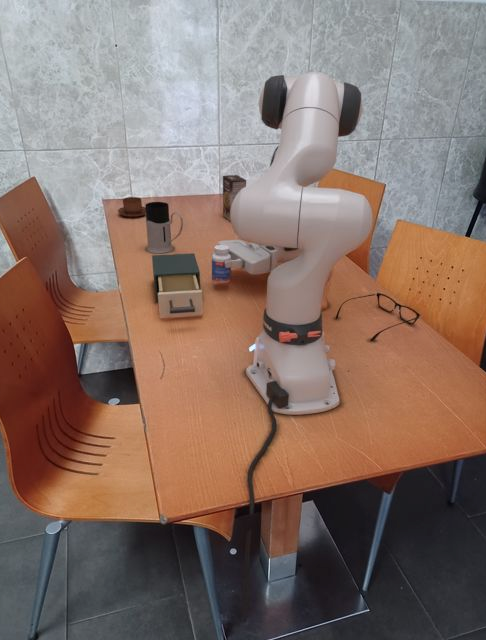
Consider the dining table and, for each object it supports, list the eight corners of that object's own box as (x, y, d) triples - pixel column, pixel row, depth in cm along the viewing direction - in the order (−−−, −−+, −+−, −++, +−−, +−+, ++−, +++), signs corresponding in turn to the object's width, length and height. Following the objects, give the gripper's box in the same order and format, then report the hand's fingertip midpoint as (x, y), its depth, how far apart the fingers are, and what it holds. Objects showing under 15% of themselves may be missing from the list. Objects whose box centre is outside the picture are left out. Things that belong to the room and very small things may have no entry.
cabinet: (200, 299, 138) (199, 272, 134) (155, 302, 136) (153, 274, 131) (195, 279, 150) (194, 253, 145) (154, 281, 148) (151, 255, 143)
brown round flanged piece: (117, 211, 207) (115, 196, 204) (146, 209, 211) (145, 195, 207) (119, 220, 198) (118, 204, 194) (150, 218, 201) (149, 202, 198)
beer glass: (328, 311, 133) (334, 258, 125) (302, 309, 134) (307, 256, 126) (330, 300, 139) (336, 249, 131) (305, 298, 140) (309, 246, 132)
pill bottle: (214, 284, 141) (213, 251, 136) (210, 277, 145) (209, 244, 140) (233, 282, 142) (233, 249, 137) (228, 275, 146) (228, 243, 141)
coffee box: (222, 216, 205) (222, 175, 196) (236, 214, 207) (237, 174, 199) (231, 222, 198) (231, 180, 189) (245, 220, 200) (246, 179, 192)
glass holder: (157, 242, 176) (154, 199, 168) (191, 250, 171) (189, 206, 163) (141, 250, 170) (137, 205, 162) (176, 258, 164) (173, 212, 156)
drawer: (205, 326, 123) (205, 302, 120) (160, 329, 121) (158, 305, 118) (197, 293, 139) (196, 271, 136) (157, 295, 137) (155, 273, 134)
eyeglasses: (421, 328, 126) (424, 314, 124) (375, 344, 119) (378, 329, 117) (375, 303, 138) (377, 290, 136) (330, 316, 131) (332, 302, 129)
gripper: (242, 231, 152) (201, 238, 146) (280, 252, 137) (236, 261, 131) (242, 251, 155) (202, 259, 149) (279, 274, 140) (236, 283, 134)
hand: (218, 260), depth 140 cm, fingers closed on pill bottle, 5 cm apart
